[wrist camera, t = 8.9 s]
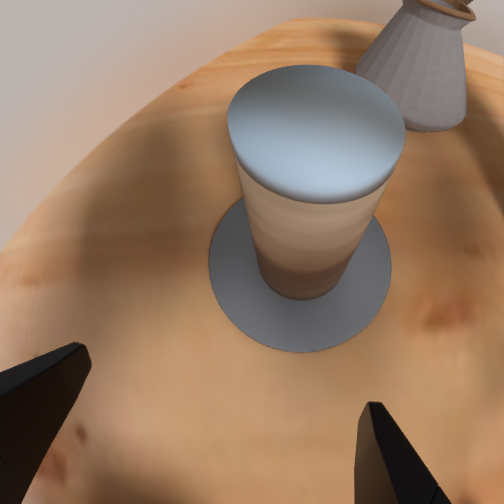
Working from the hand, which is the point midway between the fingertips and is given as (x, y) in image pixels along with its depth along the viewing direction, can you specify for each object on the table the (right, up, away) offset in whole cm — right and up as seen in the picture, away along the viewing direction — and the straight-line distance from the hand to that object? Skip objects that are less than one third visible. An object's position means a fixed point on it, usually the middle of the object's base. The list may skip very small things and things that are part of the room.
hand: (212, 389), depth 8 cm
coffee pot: (+20, +21, +18) cm, 35 cm away
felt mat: (+4, +3, +12) cm, 13 cm away
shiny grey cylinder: (+4, +4, +11) cm, 13 cm away
